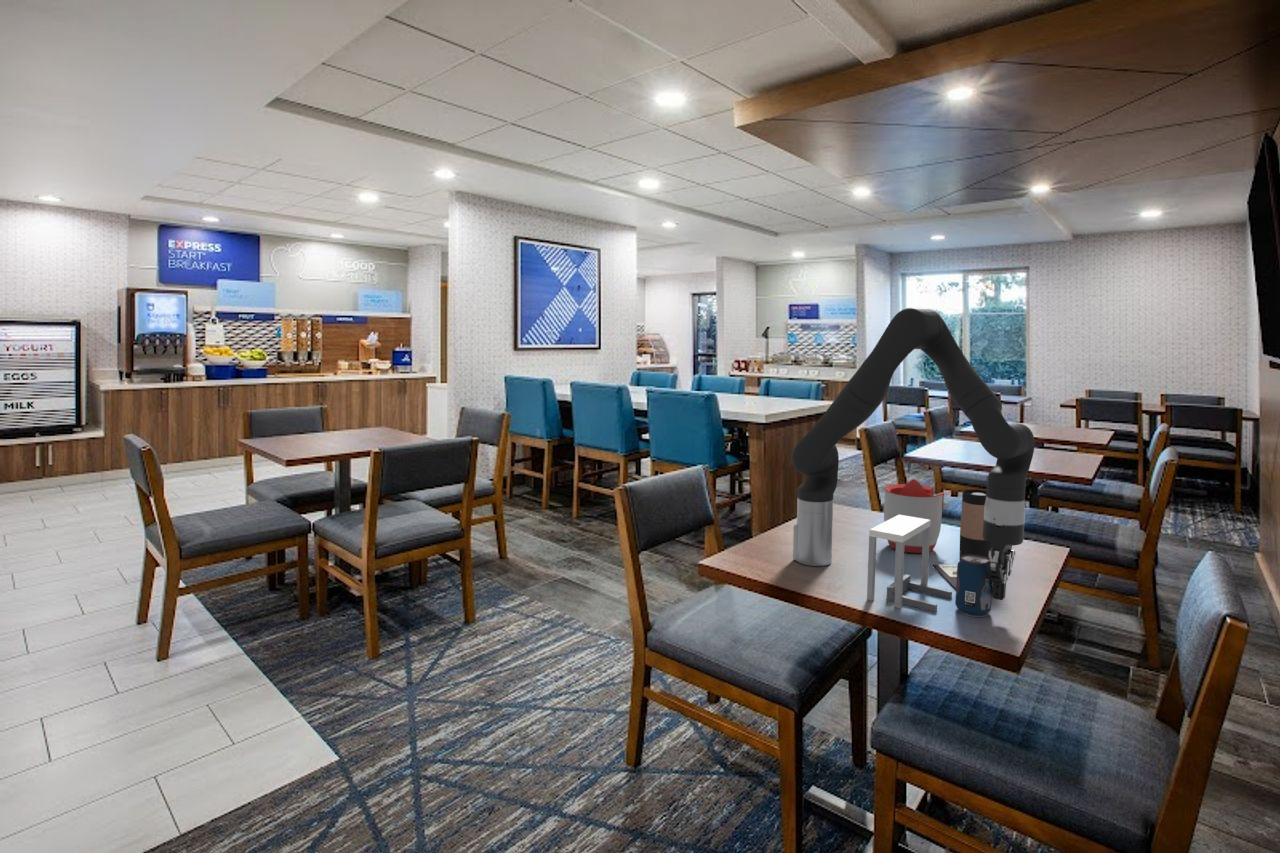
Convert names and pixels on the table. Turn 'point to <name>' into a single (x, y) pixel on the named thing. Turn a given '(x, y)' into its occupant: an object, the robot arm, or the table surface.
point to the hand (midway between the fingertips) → (998, 598)
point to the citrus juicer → (915, 510)
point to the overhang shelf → (901, 531)
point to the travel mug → (973, 524)
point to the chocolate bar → (948, 573)
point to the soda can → (973, 586)
